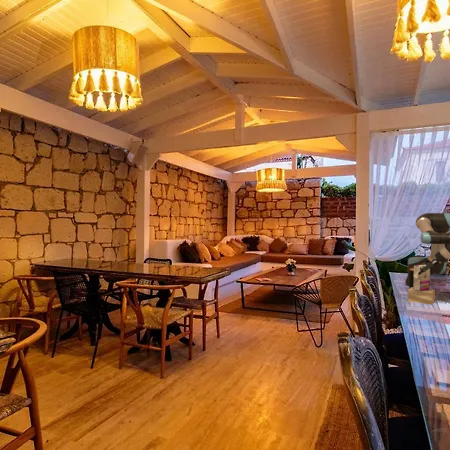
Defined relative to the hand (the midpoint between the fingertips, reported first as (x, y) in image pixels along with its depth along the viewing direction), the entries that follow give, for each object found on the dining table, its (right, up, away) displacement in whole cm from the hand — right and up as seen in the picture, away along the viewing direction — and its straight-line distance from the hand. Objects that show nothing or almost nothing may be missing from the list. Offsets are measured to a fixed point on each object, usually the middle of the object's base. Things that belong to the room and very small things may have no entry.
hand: (417, 275), depth 236 cm
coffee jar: (+12, -16, +22) cm, 30 cm away
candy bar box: (+1, -9, -2) cm, 9 cm away
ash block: (+2, -17, -1) cm, 17 cm away
